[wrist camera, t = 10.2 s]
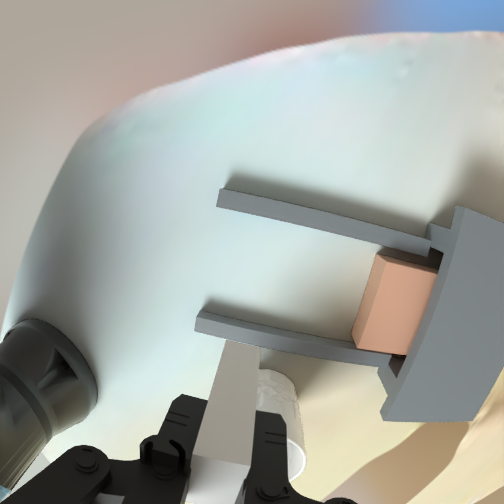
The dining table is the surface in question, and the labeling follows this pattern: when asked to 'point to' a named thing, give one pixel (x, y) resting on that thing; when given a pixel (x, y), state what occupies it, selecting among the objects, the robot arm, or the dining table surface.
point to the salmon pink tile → (393, 305)
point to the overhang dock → (432, 324)
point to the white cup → (284, 415)
